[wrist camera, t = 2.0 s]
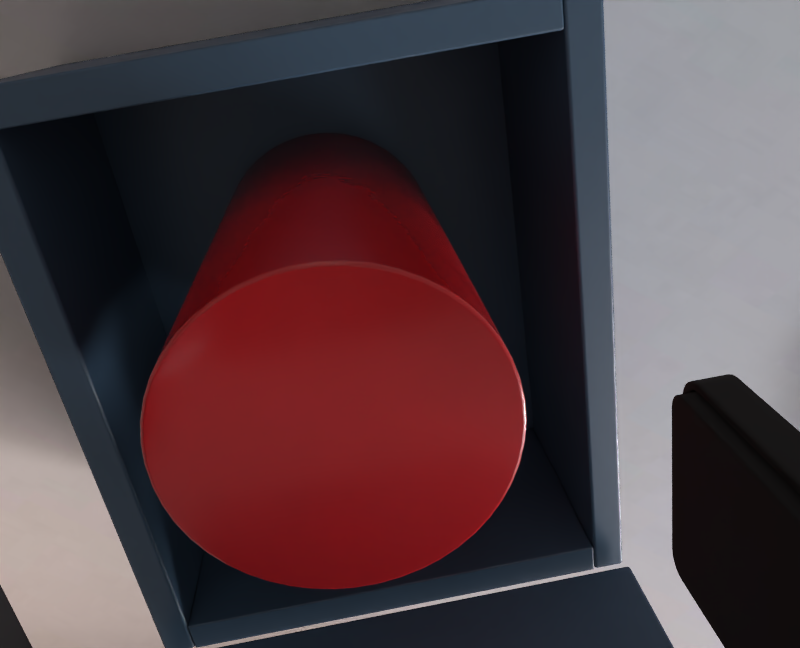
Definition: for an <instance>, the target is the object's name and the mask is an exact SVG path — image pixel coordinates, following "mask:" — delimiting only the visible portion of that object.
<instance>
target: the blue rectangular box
mask: <svg viewBox="0 0 800 648" xmlns="http://www.w3.org/2000/svg"><path fill="white" fill-rule="evenodd" d="M316 133H339V134H347V135H351V136H355V137H359V138H362V139H365V140H367V141H370V142H372V143H375V144H376V145H378V146H380V147H382V148H384V149H385V150H387V151H388V152H389V153H391V154H392V155H393V156H395V157H396V158H397V159H398V160H399V161H400V162H401V163H402V164H403V165H404V166H405V167H406V168H407V169H408V170H409V171H410V173H411V174H412V175H413V177H414V178H415V180H416V181H417V183H418V185H419V186H420V188H421V190H422V192H423V194H424V195H425V197H426V199H427V201H428V203H429V205H430V206H431V208H432V210H433V212H434V214H435V216H436V218H437V219H438V221H439V223H440V225H441V227H442V229H443V230H444V232H445V234H446V236H447V238H448V240H449V242H450V243H451V245H452V247H453V249H454V251H455V253H456V254H457V256H458V258H459V260H460V262H461V264H462V266H463V267H464V269H465V271H466V273H467V275H468V277H469V278H470V280H471V282H472V284H473V286H474V288H475V289H476V291H477V293H478V295H479V297H480V299H481V301H482V302H483V304H484V306H485V308H486V310H487V312H488V313H489V315H490V317H491V319H492V321H493V323H494V325H495V326H496V328H497V330H498V332H499V334H500V336H501V337H502V339H503V341H504V343H505V345H506V347H507V348H508V350H509V352H510V354H511V356H512V358H513V360H514V363H515V365H516V368H517V370H518V373H519V375H520V378H521V382H522V387H523V391H524V396H525V403H526V417H527V423H526V435H525V443H524V448H523V452H522V456H521V461H520V464H519V467H518V469H517V472H516V474H515V477H514V480H513V482H512V484H511V486H510V488H509V489H508V491H507V493H506V495H505V497H504V499H503V500H502V502H501V503H500V504H499V506H498V507H497V509H496V510H495V511H494V513H493V514H492V515H491V517H490V518H489V519H488V520H487V521H486V522H485V523H484V524H483V525H482V527H481V528H480V529H479V530H478V531H477V532H476V533H475V534H474V535H472V536H471V537H470V538H469V539H468V540H467V541H465V542H464V543H463V544H462V545H461V546H459V547H458V548H457V549H455V550H454V551H452V552H451V553H449V554H448V555H446V556H445V557H443V558H442V559H440V560H438V561H436V562H434V563H432V564H430V565H428V566H427V567H425V568H423V569H421V570H418V571H416V572H413V573H411V574H408V575H406V576H403V577H400V578H397V579H393V580H390V581H386V582H383V583H379V584H374V585H368V586H363V587H357V588H345V589H309V588H301V587H292V586H287V585H282V584H278V583H273V582H269V581H266V580H263V579H260V578H257V577H254V576H251V575H248V574H245V573H243V572H241V571H239V570H237V569H235V568H233V567H231V566H229V565H226V564H225V563H223V562H221V561H220V560H218V559H217V558H215V557H213V556H212V555H210V554H209V553H207V552H206V551H205V550H203V549H202V548H201V547H200V546H198V545H197V544H196V543H195V542H193V541H192V540H191V539H190V538H189V537H188V536H187V535H186V534H185V533H184V532H183V531H182V530H181V529H180V528H179V527H178V526H177V525H176V524H175V522H174V521H173V520H172V518H171V517H170V516H169V514H168V513H167V511H166V510H165V509H164V507H163V506H162V504H161V502H160V500H159V498H158V497H157V495H156V493H155V491H154V489H153V487H152V485H151V482H150V479H149V476H148V473H147V470H146V467H145V464H144V459H143V454H142V448H141V443H140V417H141V409H142V402H143V397H144V393H145V390H146V387H147V384H148V380H149V377H150V374H151V372H152V370H153V368H154V366H155V364H156V361H157V359H158V357H159V355H160V353H161V351H162V348H163V346H164V344H165V342H166V340H167V337H168V335H169V333H170V331H171V329H172V327H173V324H174V322H175V320H176V318H177V316H178V314H179V311H180V309H181V307H182V305H183V303H184V301H185V298H186V296H187V294H188V292H189V290H190V287H191V285H192V283H193V281H194V279H195V277H196V274H197V272H198V270H199V268H200V266H201V264H202V261H203V259H204V257H205V255H206V253H207V251H208V248H209V246H210V244H211V242H212V240H213V238H214V235H215V233H216V231H217V229H218V227H219V224H220V222H221V220H222V218H223V216H224V214H225V211H226V209H227V207H228V205H229V203H230V201H231V198H232V196H233V194H234V192H235V190H236V188H237V186H238V184H239V182H240V181H241V179H242V178H243V176H244V175H245V173H246V172H247V171H248V169H249V168H250V167H251V166H252V165H253V164H254V163H255V162H256V161H257V160H258V159H259V158H260V157H262V156H263V155H264V154H265V153H266V152H268V151H269V150H271V149H273V148H274V147H276V146H277V145H279V144H282V143H284V142H286V141H288V140H290V139H293V138H297V137H300V136H304V135H309V134H316ZM0 253H1V255H2V258H3V260H4V262H5V265H6V267H7V270H8V272H9V274H10V277H11V279H12V282H13V284H14V286H15V289H16V291H17V294H18V296H19V298H20V301H21V303H22V306H23V308H24V310H25V313H26V315H27V318H28V320H29V322H30V325H31V327H32V330H33V332H34V334H35V337H36V339H37V342H38V344H39V346H40V349H41V351H42V354H43V356H44V358H45V361H46V363H47V366H48V368H49V370H50V373H51V375H52V378H53V380H54V382H55V385H56V387H57V390H58V392H59V394H60V397H61V399H62V402H63V404H64V406H65V409H66V411H67V414H68V416H69V418H70V421H71V423H72V426H73V428H74V430H75V433H76V435H77V438H78V440H79V442H80V445H81V447H82V450H83V452H84V454H85V457H86V459H87V462H88V464H89V466H90V469H91V471H92V474H93V476H94V478H95V481H96V483H97V486H98V488H99V490H100V493H101V495H102V498H103V500H104V502H105V505H106V507H107V510H108V512H109V514H110V517H111V519H112V522H113V524H114V527H115V529H116V531H117V534H118V536H119V539H120V541H121V543H122V546H123V548H124V551H125V553H126V555H127V558H128V560H129V563H130V565H131V567H132V570H133V572H134V575H135V577H136V579H137V582H138V584H139V587H140V589H141V591H142V594H143V596H144V599H145V601H146V603H147V606H148V608H149V611H150V613H151V615H152V618H153V620H154V623H155V625H156V627H157V630H158V632H159V635H160V637H161V639H162V642H163V644H164V647H165V648H193V647H194V646H196V647H202V646H207V645H212V644H217V643H222V642H227V641H232V640H237V639H242V638H247V637H252V636H257V635H262V634H267V633H273V632H278V631H283V630H288V629H293V628H298V627H303V626H308V625H313V624H318V623H323V622H328V621H333V620H338V619H343V618H348V617H353V616H359V615H364V614H369V613H374V612H379V611H384V610H389V609H394V608H399V607H404V606H409V605H414V604H419V603H424V602H429V601H434V600H440V599H445V598H450V597H455V596H460V595H465V594H470V593H475V592H480V591H485V590H490V589H495V588H500V587H505V586H510V585H515V584H520V583H526V582H531V581H536V580H541V579H546V578H551V577H556V576H561V575H566V574H571V573H576V572H581V571H586V570H591V569H594V566H595V567H597V568H598V567H603V566H608V565H613V564H618V563H621V562H622V543H621V513H620V483H619V454H618V424H617V395H616V365H615V335H614V306H613V276H612V247H611V217H610V187H609V158H608V128H607V99H606V69H605V39H604V10H603V0H430V1H424V2H419V3H413V4H407V5H401V6H396V7H390V8H384V9H379V10H373V11H367V12H361V13H356V14H350V15H344V16H339V17H333V18H327V19H321V20H316V21H310V22H304V23H298V24H293V25H287V26H281V27H276V28H270V29H264V30H258V31H253V32H247V33H241V34H235V35H230V36H224V37H218V38H213V39H207V40H201V41H195V42H190V43H184V44H178V45H172V46H167V47H161V48H155V49H150V50H144V51H138V52H132V53H127V54H121V55H115V56H110V57H104V58H98V59H92V60H87V61H81V62H75V63H69V64H64V65H58V66H54V67H50V68H46V69H41V70H37V71H33V72H28V73H24V74H20V75H16V76H11V77H7V78H3V79H0Z"/></svg>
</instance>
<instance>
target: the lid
mask: <svg viewBox="0 0 800 648" xmlns="http://www.w3.org/2000/svg"><path fill="white" fill-rule="evenodd" d="M219 648H674V647H673V645H672V644H671V642H670V640H669V638H668V636H667V635H666V633H665V631H664V629H663V627H662V625H661V624H660V622H659V620H658V618H657V616H656V614H655V613H654V611H653V609H652V607H651V605H650V604H649V602H648V600H647V598H646V596H645V594H644V593H643V591H642V589H641V587H640V585H639V583H638V582H637V580H636V578H635V576H634V574H633V573H632V571H631V569H630V568H629V567H623V568H618V569H613V570H608V571H603V572H598V573H593V574H588V575H583V576H578V577H573V578H568V579H563V580H558V581H553V582H548V583H543V584H537V585H532V586H527V587H522V588H517V589H512V590H507V591H502V592H497V593H492V594H487V595H482V596H477V597H472V598H467V599H462V600H457V601H452V602H446V603H441V604H436V605H431V606H426V607H421V608H416V609H411V610H406V611H401V612H396V613H391V614H386V615H381V616H376V617H371V618H366V619H361V620H356V621H350V622H345V623H340V624H335V625H330V626H325V627H320V628H315V629H310V630H305V631H300V632H295V633H290V634H285V635H280V636H275V637H270V638H265V639H259V640H254V641H249V642H244V643H239V644H234V645H229V646H224V647H219Z"/></svg>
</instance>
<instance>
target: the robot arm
mask: <svg viewBox="0 0 800 648" xmlns="http://www.w3.org/2000/svg"><path fill="white" fill-rule="evenodd" d="M672 550H673V558H674V562H675V565H676V568H677V571H678V573H679V576H680V577H681V579H682V581H683V582H684V584H685V586H686V587H687V589H688V590H689V592H690V594H691V595H692V597H693V598H694V600H695V601H696V603H697V605H698V606H699V608H700V609H701V611H702V612H703V614H704V616H705V617H706V619H707V620H708V622H709V623H710V625H711V627H712V628H713V630H714V631H715V633H716V634H717V636H718V638H719V639H720V641H721V642H722V644H723V645H724V647H725V648H800V432H799V431H798V430H797V429H796V428H795V427H793V426H792V425H791V424H790V423H789V422H788V421H787V420H785V419H784V418H783V417H782V416H781V415H780V414H779V413H777V412H776V411H775V410H774V409H773V408H772V407H771V406H769V405H768V404H767V403H766V402H765V401H764V400H763V399H761V398H760V397H759V396H758V395H757V394H756V393H754V392H753V391H752V390H751V389H750V388H749V387H748V386H746V385H745V384H744V383H743V382H742V381H741V380H740V379H738V378H737V377H735V376H734V375H722V376H717V377H712V378H707V379H701V380H696V381H691V382H688V383H687V384H686V385H685V388H684V390H683V394H681V395H676V396H675V397H674V399H673V402H672ZM0 648H32V646H31V644H30V642H29V640H28V638H27V636H26V634H25V632H24V630H23V628H22V626H21V625H20V623H19V621H18V619H17V617H16V615H15V613H14V611H13V609H12V607H11V605H10V603H9V601H8V599H7V597H6V595H5V593H4V591H3V589H2V587H1V585H0Z"/></svg>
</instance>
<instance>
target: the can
mask: <svg viewBox="0 0 800 648" xmlns="http://www.w3.org/2000/svg"><path fill="white" fill-rule="evenodd" d="M526 423H527V417H526V403H525V396H524V391H523V387H522V382H521V378H520V375H519V373H518V370H517V368H516V365H515V363H514V360H513V358H512V356H511V354H510V352H509V350H508V348H507V347H506V345H505V343H504V341H503V339H502V337H501V336H500V334H499V332H498V330H497V328H496V326H495V325H494V323H493V321H492V319H491V317H490V315H489V313H488V312H487V310H486V308H485V306H484V304H483V302H482V301H481V299H480V297H479V295H478V293H477V291H476V289H475V288H474V286H473V284H472V282H471V280H470V278H469V277H468V275H467V273H466V271H465V269H464V267H463V266H462V264H461V262H460V260H459V258H458V256H457V254H456V253H455V251H454V249H453V247H452V245H451V243H450V242H449V240H448V238H447V236H446V234H445V232H444V230H443V229H442V227H441V225H440V223H439V221H438V219H437V218H436V216H435V214H434V212H433V210H432V208H431V206H430V205H429V203H428V201H427V199H426V197H425V195H424V194H423V192H422V190H421V188H420V186H419V185H418V183H417V181H416V180H415V178H414V177H413V175H412V174H411V173H410V171H409V170H408V169H407V168H406V167H405V166H404V165H403V164H402V163H401V162H400V161H399V160H398V159H397V158H396V157H395V156H393V155H392V154H391V153H389V152H388V151H387V150H385V149H384V148H382V147H380V146H378V145H376V144H375V143H372V142H370V141H367V140H365V139H362V138H359V137H355V136H351V135H347V134H339V133H316V134H309V135H304V136H300V137H297V138H293V139H290V140H288V141H286V142H284V143H282V144H279V145H277V146H276V147H274V148H273V149H271V150H269V151H268V152H266V153H265V154H264V155H263V156H262V157H260V158H259V159H258V160H257V161H256V162H255V163H254V164H253V165H252V166H251V167H250V168H249V169H248V171H247V172H246V173H245V175H244V176H243V178H242V179H241V181H240V182H239V184H238V186H237V188H236V190H235V192H234V194H233V196H232V198H231V201H230V203H229V205H228V207H227V209H226V211H225V214H224V216H223V218H222V220H221V222H220V224H219V227H218V229H217V231H216V233H215V235H214V238H213V240H212V242H211V244H210V246H209V248H208V251H207V253H206V255H205V257H204V259H203V261H202V264H201V266H200V268H199V270H198V272H197V274H196V277H195V279H194V281H193V283H192V285H191V287H190V290H189V292H188V294H187V296H186V298H185V301H184V303H183V305H182V307H181V309H180V311H179V314H178V316H177V318H176V320H175V322H174V324H173V327H172V329H171V331H170V333H169V335H168V337H167V340H166V342H165V344H164V346H163V348H162V351H161V353H160V355H159V357H158V359H157V361H156V364H155V366H154V368H153V370H152V372H151V374H150V377H149V380H148V384H147V387H146V390H145V393H144V397H143V402H142V409H141V417H140V443H141V448H142V454H143V459H144V464H145V467H146V470H147V473H148V476H149V479H150V482H151V485H152V487H153V489H154V491H155V493H156V495H157V497H158V498H159V500H160V502H161V504H162V506H163V507H164V509H165V510H166V511H167V513H168V514H169V516H170V517H171V518H172V520H173V521H174V522H175V524H176V525H177V526H178V527H179V528H180V529H181V530H182V531H183V532H184V533H185V534H186V535H187V536H188V537H189V538H190V539H191V540H192V541H193V542H195V543H196V544H197V545H198V546H200V547H201V548H202V549H203V550H205V551H206V552H207V553H209V554H210V555H212V556H213V557H215V558H217V559H218V560H220V561H221V562H223V563H225V564H226V565H229V566H231V567H233V568H235V569H237V570H239V571H241V572H243V573H245V574H248V575H251V576H254V577H257V578H260V579H263V580H266V581H269V582H273V583H278V584H282V585H287V586H292V587H301V588H309V589H345V588H357V587H363V586H368V585H374V584H379V583H383V582H386V581H390V580H393V579H397V578H400V577H403V576H406V575H408V574H411V573H413V572H416V571H418V570H421V569H423V568H425V567H427V566H428V565H430V564H432V563H434V562H436V561H438V560H440V559H442V558H443V557H445V556H446V555H448V554H449V553H451V552H452V551H454V550H455V549H457V548H458V547H459V546H461V545H462V544H463V543H464V542H465V541H467V540H468V539H469V538H470V537H471V536H472V535H474V534H475V533H476V532H477V531H478V530H479V529H480V528H481V527H482V525H483V524H484V523H485V522H486V521H487V520H488V519H489V518H490V517H491V515H492V514H493V513H494V511H495V510H496V509H497V507H498V506H499V504H500V503H501V502H502V500H503V499H504V497H505V495H506V493H507V491H508V489H509V488H510V486H511V484H512V482H513V480H514V477H515V474H516V472H517V469H518V467H519V464H520V461H521V456H522V452H523V448H524V443H525V435H526Z"/></svg>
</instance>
